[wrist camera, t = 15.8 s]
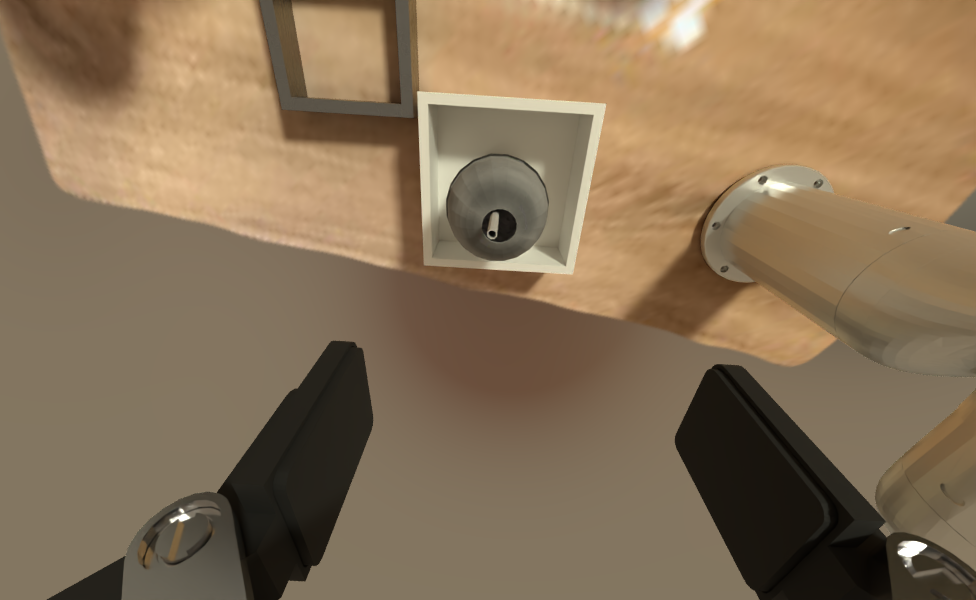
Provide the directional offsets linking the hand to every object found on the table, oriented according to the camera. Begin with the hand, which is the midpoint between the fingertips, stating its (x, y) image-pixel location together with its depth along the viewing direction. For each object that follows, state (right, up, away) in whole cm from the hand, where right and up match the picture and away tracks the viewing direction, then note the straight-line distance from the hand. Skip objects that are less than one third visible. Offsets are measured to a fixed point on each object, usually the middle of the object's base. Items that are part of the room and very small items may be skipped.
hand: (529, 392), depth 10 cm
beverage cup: (-1, +15, +25) cm, 29 cm away
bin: (0, +15, +26) cm, 30 cm away
